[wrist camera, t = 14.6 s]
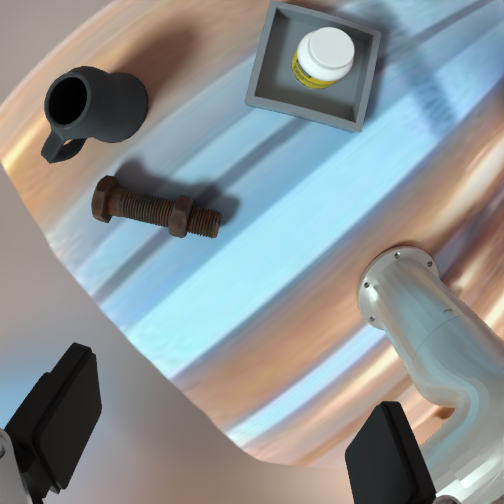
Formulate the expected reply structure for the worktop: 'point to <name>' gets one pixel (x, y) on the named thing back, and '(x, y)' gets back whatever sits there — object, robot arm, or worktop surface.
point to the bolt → (153, 210)
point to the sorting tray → (293, 93)
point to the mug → (92, 110)
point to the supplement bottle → (322, 58)
